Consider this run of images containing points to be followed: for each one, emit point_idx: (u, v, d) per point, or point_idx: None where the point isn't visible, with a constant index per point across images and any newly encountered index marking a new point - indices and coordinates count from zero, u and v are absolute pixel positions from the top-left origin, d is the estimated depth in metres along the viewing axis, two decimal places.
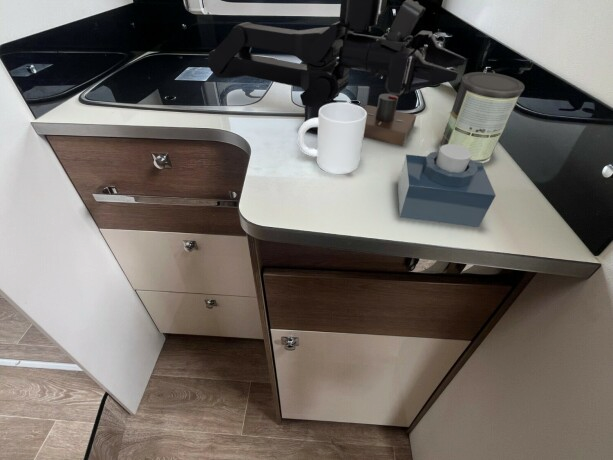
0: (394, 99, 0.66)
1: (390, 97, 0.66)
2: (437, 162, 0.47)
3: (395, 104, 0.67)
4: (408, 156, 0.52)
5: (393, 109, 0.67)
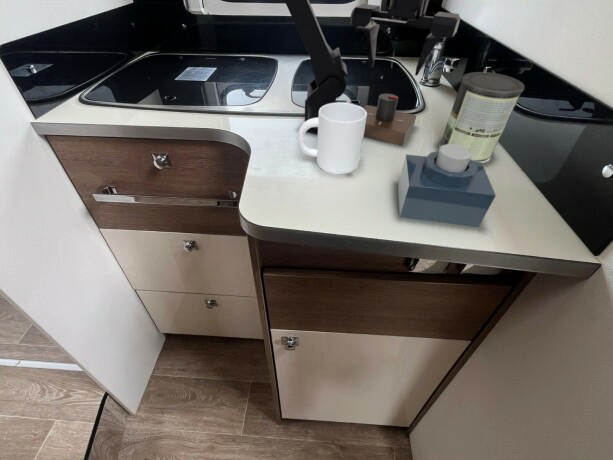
0: (394, 99, 0.66)
1: (390, 97, 0.66)
2: (437, 162, 0.47)
3: (395, 104, 0.67)
4: (408, 156, 0.52)
5: (393, 109, 0.67)
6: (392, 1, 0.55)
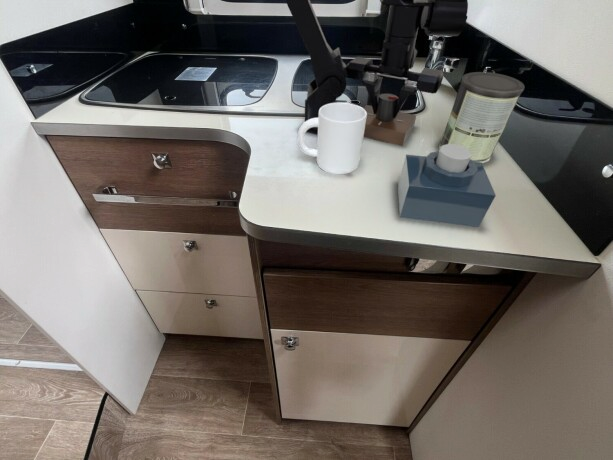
0: (394, 99, 0.66)
1: (390, 97, 0.66)
2: (437, 162, 0.47)
3: (395, 104, 0.67)
4: (408, 156, 0.52)
5: (393, 109, 0.67)
6: (382, 59, 0.61)
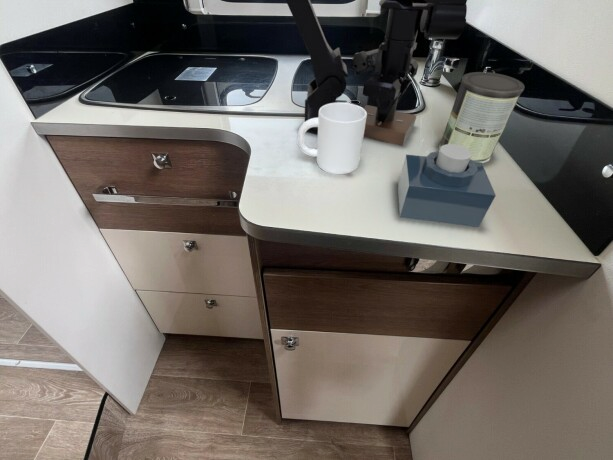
0: None
1: None
2: (437, 162, 0.47)
3: None
4: (408, 156, 0.52)
5: None
6: (402, 66, 0.60)
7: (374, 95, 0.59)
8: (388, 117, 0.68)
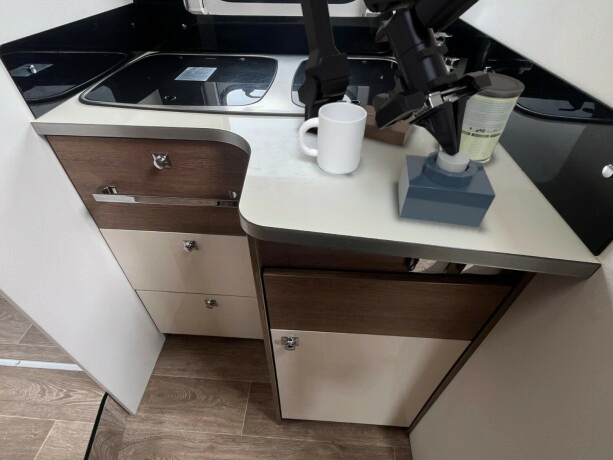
0: None
1: None
2: None
3: None
4: (408, 156, 0.52)
5: None
6: (426, 75, 0.43)
7: (386, 120, 0.42)
8: None
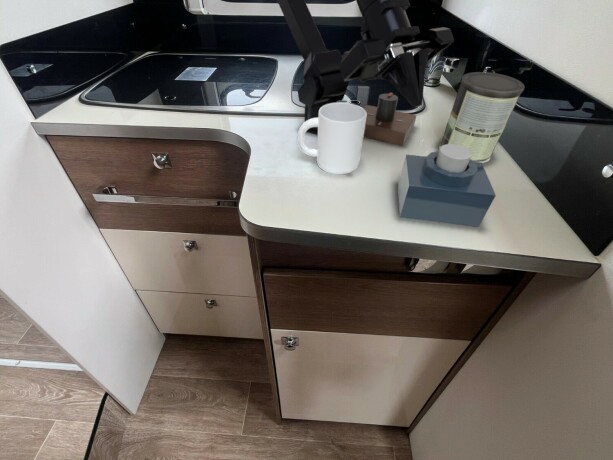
0: (393, 95, 0.68)
1: (391, 96, 0.67)
2: (437, 162, 0.47)
3: None
4: (408, 156, 0.52)
5: None
6: (388, 27, 0.45)
7: (350, 70, 0.44)
8: (388, 117, 0.68)
